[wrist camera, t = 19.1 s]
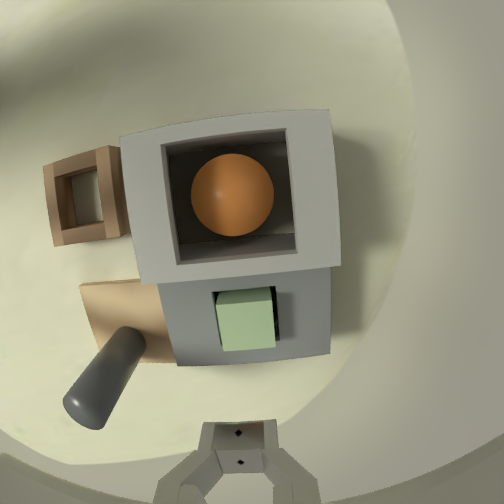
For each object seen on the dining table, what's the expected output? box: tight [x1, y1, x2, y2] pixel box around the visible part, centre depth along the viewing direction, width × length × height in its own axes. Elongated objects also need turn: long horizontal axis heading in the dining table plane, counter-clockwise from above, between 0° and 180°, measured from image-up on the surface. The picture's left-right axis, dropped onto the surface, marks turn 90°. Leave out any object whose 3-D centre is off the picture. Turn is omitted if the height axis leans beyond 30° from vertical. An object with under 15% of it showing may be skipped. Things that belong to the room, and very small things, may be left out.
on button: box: [216, 286, 276, 351], centre depth 20 cm, size 4×4×3 cm
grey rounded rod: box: [63, 326, 146, 430], centre depth 19 cm, size 3×3×10 cm
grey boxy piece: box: [120, 109, 341, 366], centre depth 19 cm, size 17×12×6 cm
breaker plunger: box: [191, 154, 274, 236], centre depth 19 cm, size 5×5×3 cm
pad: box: [79, 279, 177, 363], centre depth 24 cm, size 8×8×1 cm
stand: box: [43, 145, 131, 247], centre depth 20 cm, size 7×7×2 cm
